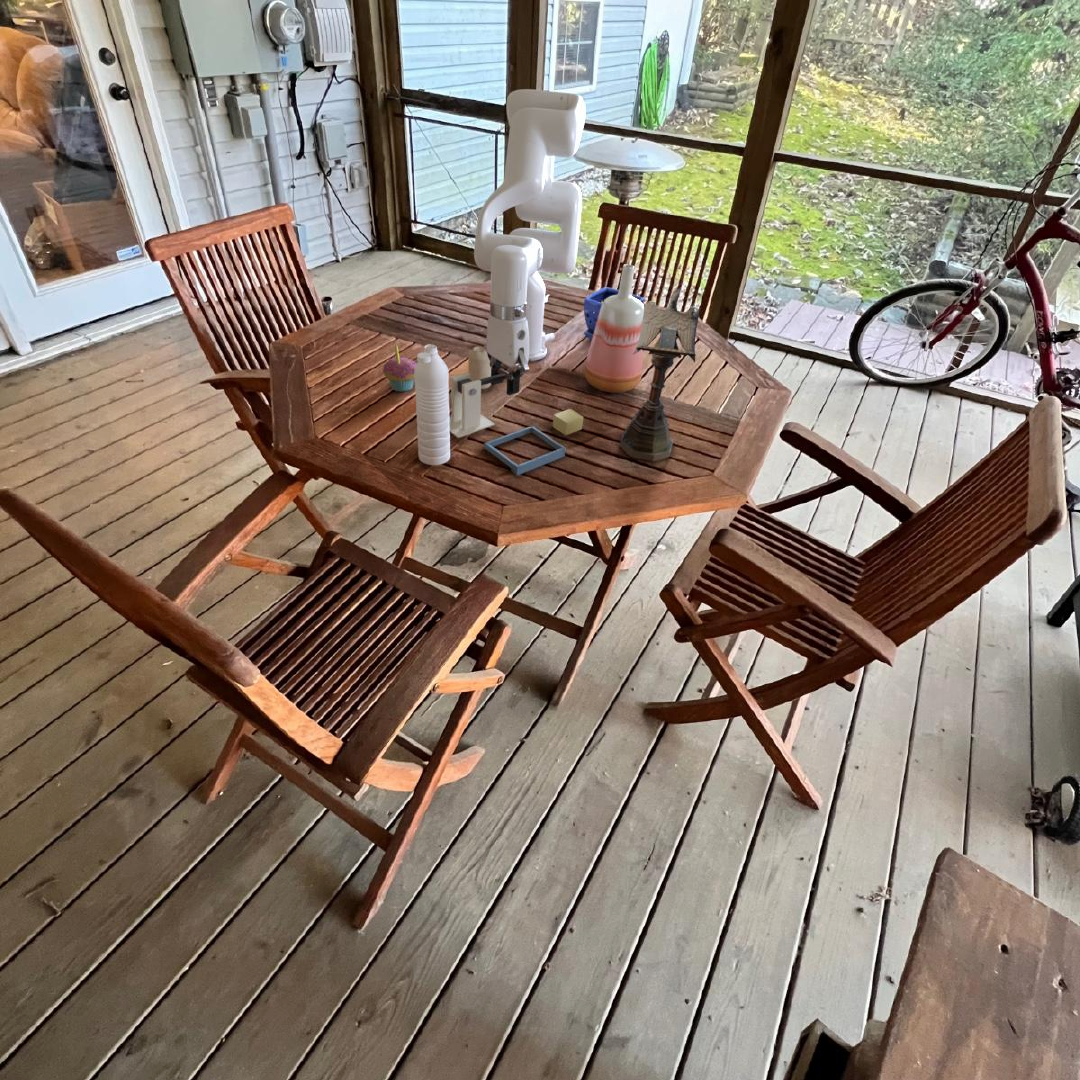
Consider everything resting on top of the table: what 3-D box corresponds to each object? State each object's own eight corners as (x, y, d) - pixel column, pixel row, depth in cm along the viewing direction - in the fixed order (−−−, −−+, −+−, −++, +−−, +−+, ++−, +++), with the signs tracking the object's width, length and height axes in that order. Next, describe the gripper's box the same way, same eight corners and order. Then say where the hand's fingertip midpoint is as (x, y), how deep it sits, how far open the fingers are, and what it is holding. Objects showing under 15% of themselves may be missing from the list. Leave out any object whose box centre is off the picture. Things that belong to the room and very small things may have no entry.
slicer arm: (501, 375, 156) (502, 365, 155) (515, 383, 153) (516, 373, 152) (453, 388, 149) (454, 378, 148) (467, 397, 146) (467, 387, 145)
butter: (568, 423, 158) (570, 408, 156) (581, 432, 156) (583, 416, 153) (552, 430, 156) (553, 414, 153) (565, 438, 153) (566, 423, 150)
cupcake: (412, 397, 163) (410, 350, 155) (378, 392, 164) (374, 344, 156) (424, 382, 169) (422, 335, 162) (391, 376, 170) (388, 330, 163)
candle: (494, 385, 170) (495, 347, 164) (484, 394, 167) (484, 355, 160) (475, 379, 172) (475, 341, 166) (464, 388, 168) (464, 350, 162)
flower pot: (640, 337, 199) (646, 297, 192) (619, 352, 190) (625, 310, 183) (600, 325, 204) (605, 285, 197) (578, 339, 195) (582, 298, 188)
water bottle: (424, 449, 146) (419, 336, 130) (453, 454, 145) (452, 341, 129) (411, 471, 139) (404, 355, 123) (442, 476, 138) (439, 360, 123)
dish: (531, 433, 154) (532, 425, 152) (564, 456, 147) (565, 447, 146) (484, 451, 147) (484, 442, 145) (516, 475, 140) (517, 467, 139)
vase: (650, 386, 176) (672, 268, 157) (615, 404, 167) (634, 281, 148) (606, 366, 183) (622, 251, 164) (571, 382, 174) (583, 263, 155)
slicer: (473, 413, 159) (474, 366, 151) (494, 428, 154) (496, 380, 147) (437, 425, 154) (435, 377, 146) (457, 441, 149) (457, 392, 142)
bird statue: (675, 478, 144) (713, 315, 121) (613, 467, 145) (640, 304, 123) (681, 439, 156) (716, 285, 134) (624, 429, 158) (650, 275, 136)
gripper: (547, 319, 141) (541, 399, 153) (497, 293, 151) (495, 370, 162) (519, 326, 137) (515, 408, 149) (469, 299, 147) (469, 377, 158)
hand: (504, 387), depth 155 cm, fingers closed on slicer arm, 5 cm apart
